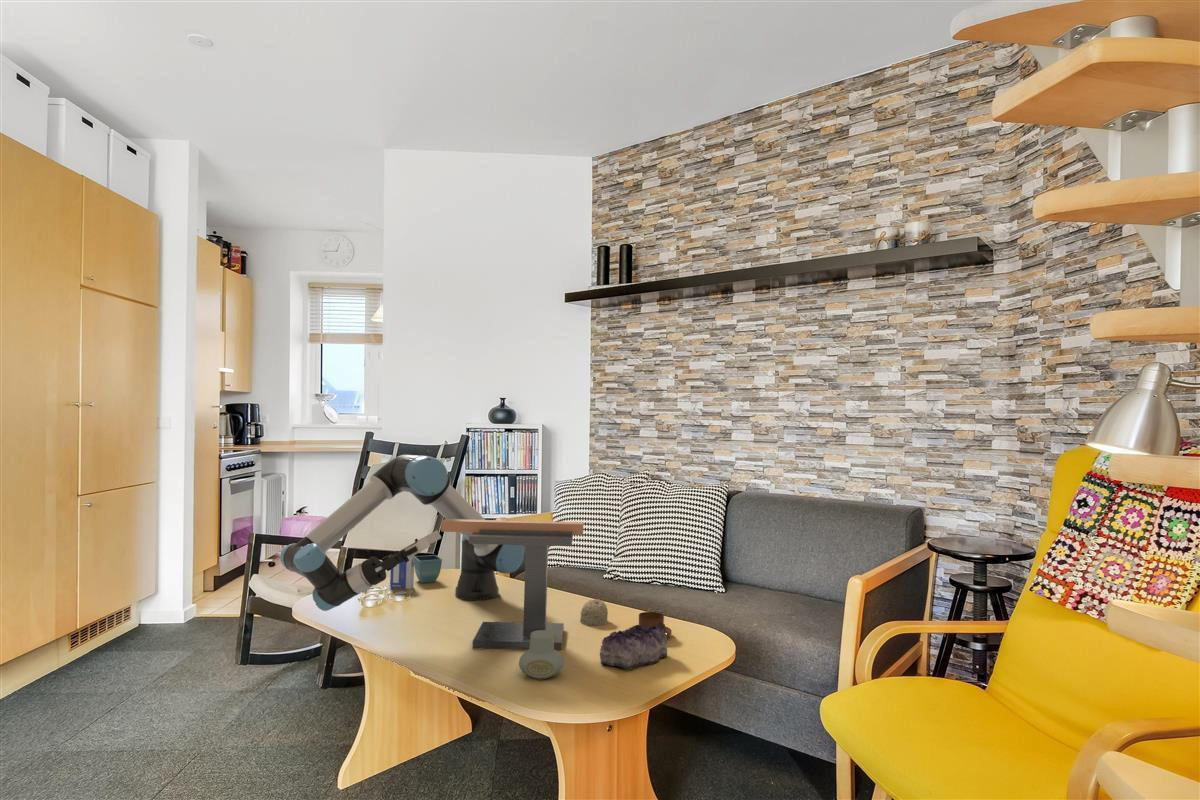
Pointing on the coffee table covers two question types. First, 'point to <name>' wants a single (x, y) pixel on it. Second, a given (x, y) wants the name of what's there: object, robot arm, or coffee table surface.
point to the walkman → (403, 575)
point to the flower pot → (427, 568)
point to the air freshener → (541, 656)
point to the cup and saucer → (653, 620)
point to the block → (509, 525)
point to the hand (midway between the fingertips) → (433, 537)
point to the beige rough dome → (594, 613)
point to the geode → (634, 646)
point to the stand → (534, 590)
